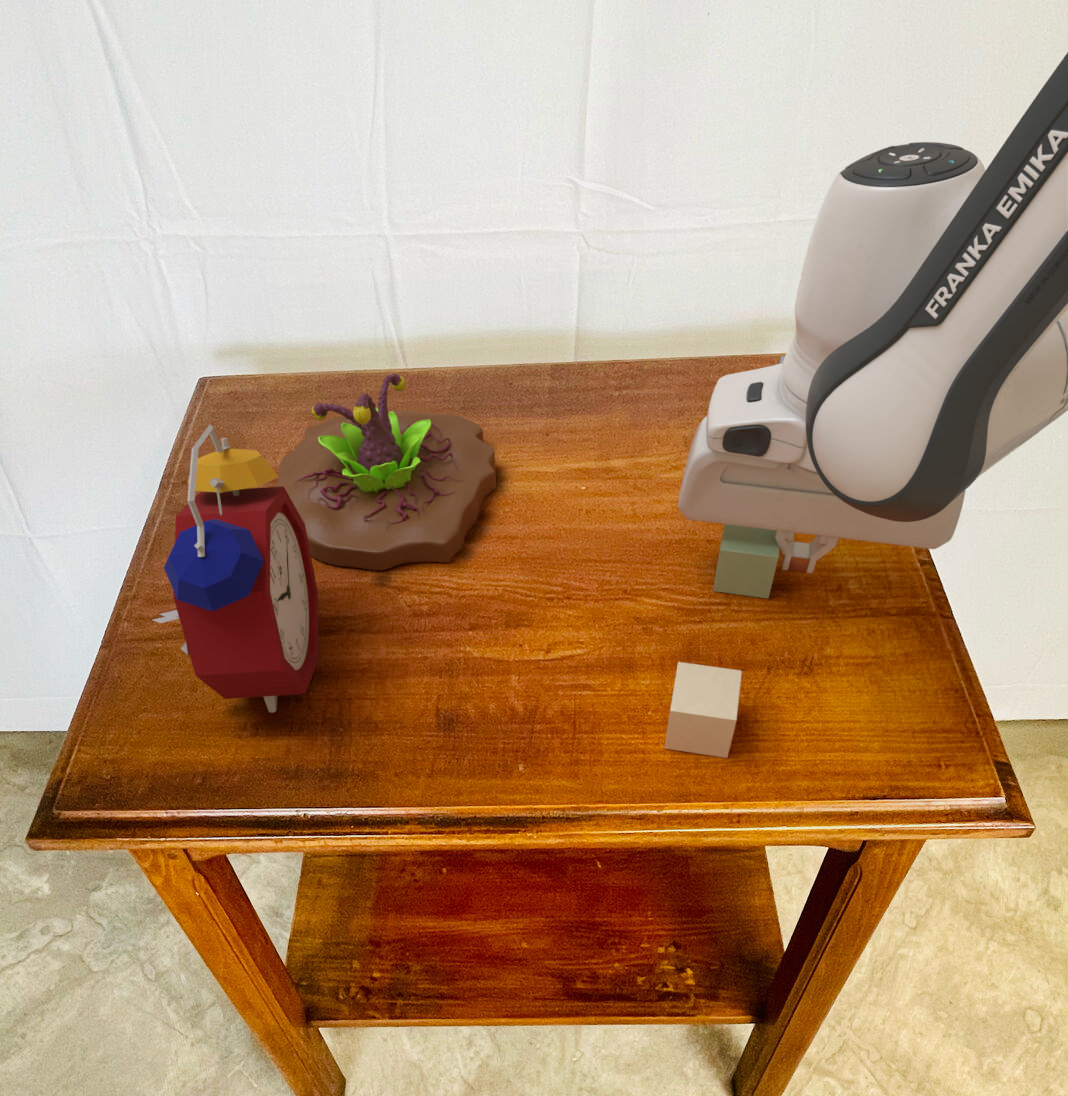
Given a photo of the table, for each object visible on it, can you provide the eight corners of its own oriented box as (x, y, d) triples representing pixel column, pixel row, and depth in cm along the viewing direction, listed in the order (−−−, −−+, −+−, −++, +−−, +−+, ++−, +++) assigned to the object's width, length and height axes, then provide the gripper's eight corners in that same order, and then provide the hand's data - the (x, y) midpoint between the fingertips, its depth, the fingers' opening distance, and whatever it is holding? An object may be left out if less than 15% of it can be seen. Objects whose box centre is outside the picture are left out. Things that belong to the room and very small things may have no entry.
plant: (249, 565, 78) (206, 455, 68) (308, 428, 89) (277, 318, 80) (478, 577, 76) (465, 466, 67) (508, 436, 87) (500, 324, 78)
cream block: (672, 700, 67) (678, 661, 64) (732, 709, 67) (742, 670, 63) (664, 748, 65) (670, 710, 61) (727, 758, 64) (736, 720, 60)
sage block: (719, 554, 76) (726, 512, 73) (772, 561, 76) (782, 519, 72) (712, 591, 74) (720, 549, 70) (768, 598, 73) (778, 557, 69)
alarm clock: (312, 735, 67) (228, 523, 50) (195, 742, 67) (74, 532, 50) (328, 593, 75) (261, 373, 59) (225, 599, 75) (129, 381, 59)
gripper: (994, 404, 62) (929, 556, 73) (696, 375, 65) (677, 525, 76) (1001, 460, 58) (931, 611, 69) (685, 427, 61) (667, 577, 72)
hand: (796, 566), depth 73 cm, fingers closed
